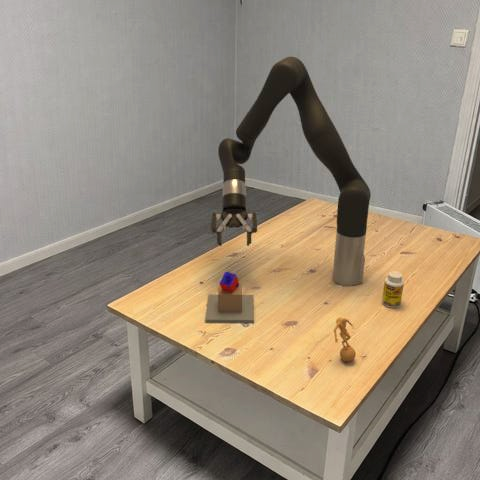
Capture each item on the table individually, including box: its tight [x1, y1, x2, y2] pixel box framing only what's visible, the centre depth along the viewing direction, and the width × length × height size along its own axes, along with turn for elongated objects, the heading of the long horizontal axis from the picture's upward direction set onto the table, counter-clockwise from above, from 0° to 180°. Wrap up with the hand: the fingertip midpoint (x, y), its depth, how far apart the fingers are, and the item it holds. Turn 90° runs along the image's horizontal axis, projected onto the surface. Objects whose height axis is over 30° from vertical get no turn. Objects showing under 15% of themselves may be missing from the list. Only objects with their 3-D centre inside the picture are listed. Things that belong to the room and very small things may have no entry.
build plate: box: [204, 283, 255, 324], centre depth 157 cm, size 14×14×7 cm
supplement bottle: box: [381, 270, 405, 309], centre depth 160 cm, size 6×6×10 cm
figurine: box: [333, 317, 357, 363], centre depth 135 cm, size 8×6×12 cm
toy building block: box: [219, 270, 240, 292], centre depth 154 cm, size 4×4×8 cm
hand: (234, 245), depth 163 cm, fingers open, 8 cm apart
